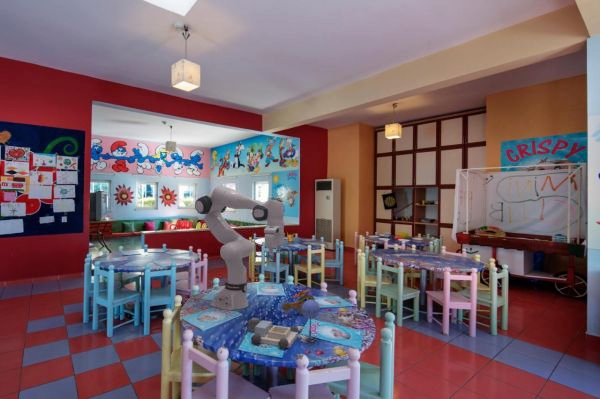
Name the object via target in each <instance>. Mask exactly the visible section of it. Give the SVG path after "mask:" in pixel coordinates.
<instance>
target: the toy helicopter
mask: <svg viewBox="0 0 600 399" xmlns="http://www.w3.org/2000/svg"><path fill="white" fill-rule="evenodd" d="M309 292H311V289H310V288H308V289H306V290H301V291H299V293H297V294H294V295H292V298H293V299H296V298H298V297H299V298H298V300H297V301H293V302H288V301H287V302H283V304H282V307H281V308H282V311H283V312H287V313H288V312H290V311H291V310H294V309H297V311H298V314H299V316H300V315H301V316H303V313H302V310H301V308H302V305H303V303H304V302H305V301H307V300H314V301H316V300H315V296H313V295H312V294H309Z"/></svg>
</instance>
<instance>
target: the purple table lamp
mask: <svg viewBox="0 0 600 399" xmlns="http://www.w3.org/2000/svg"><path fill="white" fill-rule="evenodd" d="M301 310H302V313H303V314H302V316H304V317H305V318H306V319H309V330H308V337H309V338H308V339H309V340H310V341H312V319H315V318H317V317H318V315H319V313H320V312H321V307H320V305H319V303H318V302H317V301H316V300H315V301H314V300H307V301H305V302H304V303H303V305H302V308H301Z"/></svg>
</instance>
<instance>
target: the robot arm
mask: <svg viewBox="0 0 600 399" xmlns="http://www.w3.org/2000/svg"><path fill="white" fill-rule="evenodd" d="M194 202H195V203H194V207H195V210H196V212H197V213H198V214H200V215H205V216H204V218H203V220H204V223H205V225H206V227H207V229H208V230H209V232H210V233H211V234H212V235H213V237H214V238H215V239H216V240H217V241H218V242H219V243H221V244H223V245H222V246H221V247H220V251H219V252H220V254H219V255H220V257H221V258H222V259H223V261H225V265H226V268H227V281H226V282H224V283H223V286H224V288H222V289H220V291H219V292H217V293H216V295H215V297H214V300H213V301H211V303H210V307H212V308H216V307H217V309H220V308H221V309H220V310H225V311H229V312H230V311H234V310H243V309H245V308H247V307H249V302H248V301H249V300H248V296H247V294H248V293H247V291H248V282H247V281H248V280H247V274H248V273H247V267H246V266H244V264H243V259H244V258H248V257H249V256H250V255H251V254H252V253H253V252H254V249H255V246H254V243H253V242H252V240H249V239H248V238H245V237H243V235H241V234H240V233H239V232H237V231H235V230H234V229H233V227H231V225H230V224H229V223H228V222H227V221H226V219H225V218H224V217H223V215H222V214H223V213H225V212H226V209H227V208H228V209H231V210H233V209H234V210H251V215H252V217H253V220H254V221H256V222H266V223H267V224H266V226H265V228H264V229H263V233H264V248H265V249H268V251H269V256H270V257H274V256H275V253H277V254H280V253H281V247H282V245H283V244H285V232H284V231H285V230H284V229H285V225H284V224H285V222H284V216H285V204H284V201H283V200H282V199H279V198H275V197H271V198H270V197H269V198H268V200H267V201H264V202H262V201H260V200H257V199H255V198H252V197H249V196H248V195H245V194H244V193H241V192H240V191H237V190H236V189H233V188H230V187H228V186H225V185H217V186H216V187H214V188H213V190H212V192H211V194H208V195H204V196H200V197H199V198H197V199H196V200H195V201H194ZM274 248H276V250H275V252H274Z"/></svg>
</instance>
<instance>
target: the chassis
mask: <svg viewBox="0 0 600 399" xmlns="http://www.w3.org/2000/svg"><path fill="white" fill-rule="evenodd" d="M298 332H299V328H298V326H296V325H292V326H290V327H285V326H280V325H279V326H278V325H273V322H272V321H271V320H263V319H261V322H260V323H259V324H258V325H256V326H255V333H254V334H253V335H252V336H251V337H250V341H251V343H252V344H253V345H258V344H262V345H263V344H264V345H271V346H276V347H279V348H280V349H282V350H285V349H287V348H288V349H290V348H291V347H292V345H293V344H294V343H295V341H296V340H297V338H298V337H299V335H298V334H299V333H298Z"/></svg>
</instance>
